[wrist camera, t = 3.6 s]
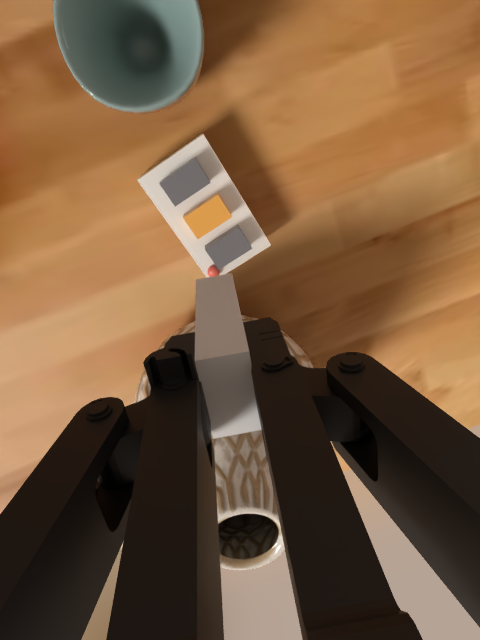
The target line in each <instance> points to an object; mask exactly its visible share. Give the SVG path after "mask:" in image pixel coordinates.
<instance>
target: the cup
mask: <svg viewBox="0 0 480 640" xmlns="http://www.w3.org/2000/svg"><path fill="white" fill-rule="evenodd" d="M53 17H54V27H55V32H56V36H57V40H58V44H59V47H60V49H61V52H62V54H63V57H64V59H65V62H66V64H67V66H68V67H69V69H70V71H71V73H72V74H73V76H74V78H75V79H76V80H77V82H78V83H79V84H80V85H81V87H82V88H83V89H84V90H85V91H86V92H87V93H88V94H89V95H91V96H92V97H93V98H94V99H95V100H96V101H98V102H100V103H102V104H104V105H105V106H107V107H109V108H112V109H115V110H119V111H122V112H126V113H138V114H147V113H156V112H160V111H163V110H166V109H169V108H171V107H173V106H175V105H177V104H179V103H180V102H181V101H182V100H183V99H185V98H186V97H187V96H188V95H189V94H190V92H191V91H192V90H193V88H194V87H195V85H196V83H197V80H198V78H199V76H200V73H201V69H202V64H203V59H204V42H205V35H204V26H203V18H202V14H201V10H200V6H199V2H198V0H53Z"/></svg>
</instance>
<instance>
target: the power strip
mask: <svg viewBox="0 0 480 640" xmlns="http://www.w3.org/2000/svg"><path fill="white" fill-rule="evenodd" d="M137 181H138V182H139V183H140V185H141V186H142V188H143V189H144V190H145V192H146V193H147V195H148V196H149V197H150V199H151V200H152V202H153V203H154V204H155V206H156V207H157V209H158V210H159V211H160V213H161V214H162V216H163V217H164V218H165V220H166V221H167V223H168V224H169V225H170V227H171V228H172V230H173V231H174V232H175V234H176V235H177V237H178V238H179V239H180V241H181V242H182V244H183V245H184V246H185V248H186V249H187V251H188V252H189V253H190V255H191V256H192V258H193V259H194V260H195V262H196V263H197V265H198V266H199V267H200V269H201V270H202V272H203V273H204V275H205V276H206V277H207V278H208V277H214V276H219V275H225V274H226V273H228V272H230V271H231V270H233V269H234V268H236V267H238V266H239V265H241V264H242V263H244V262H246V261H247V260H249V259H250V258H252V257H253V256H255V255H257V254H258V253H260V252H261V251H263V250H265V249H266V248H268V247H269V246H271V244H270V242H269V241H268V239H267V237H266V236H265V234H264V232H263V231H262V229H261V227H260V226H259V224H258V223H257V221H256V219H255V218H254V216H253V214H252V213H251V211H250V209H249V208H248V206H247V205H246V203H245V201H244V200H243V198H242V196H241V195H240V193H239V191H238V190H237V188H236V186H235V185H234V183H233V182H232V180H231V178H230V177H229V175H228V173H227V172H226V170H225V168H224V167H223V165H222V164H221V162H220V160H219V159H218V157H217V155H216V154H215V152H214V150H213V149H212V147H211V145H210V144H209V142H208V141H207V139H206V137H205V136H204V134H203V133H202V134H200V135H199V136H197V137H196V138H194V139H193V140H192V141H190V142H189V143H187V144H186V145H184V146H183V147H182V148H180V149H179V150H177V151H176V152H174V153H173V154H172V155H170V156H169V157H167V158H166V159H164V160H163V161H162V162H160V163H159V164H157V165H156V166H154V167H153V168H152V169H150V170H149V171H147V172H146V173H144V174H143V175H142V176H141V177H140V178H139V179H138V180H137Z"/></svg>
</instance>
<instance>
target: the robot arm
mask: <svg viewBox="0 0 480 640" xmlns="http://www.w3.org/2000/svg"><path fill="white" fill-rule="evenodd" d="M143 363H144V367H145V370H146V373H147V377H148V380H149V383H150V387H151V389H150V395H149V396H148V397H146V398H145V399H143V400H141V401H139V402H136V403H134V404H131V405H129V406H126V407H125V406H124V404H123V401H122V400H120V399H118V398H114V397H107V398H100V399H97V400H94V401H92V402H90V403H89V404H87V405H85V406H84V407H82V408H81V409H80V410H79V411H78V412H77V413H76V415H75V416H74V417H73V419H72V420H71V421H70V423H69V424H68V425H67V427H66V428H65V429H64V431H63V432H62V433H61V435H60V436H59V437H58V439H57V440H56V441H55V443H54V444H53V445H52V447H51V448H50V449H49V451H48V452H47V453H46V455H45V456H44V457H43V459H42V460H41V461H40V463H39V464H38V465H37V467H36V468H35V469H34V470H33V472H32V473H31V474H30V476H29V477H28V478H27V480H26V481H25V482H24V484H23V485H22V486H21V488H20V489H19V490H18V492H17V493H16V494H15V496H14V497H13V498H12V500H11V501H10V502H9V504H8V505H7V506H6V508H5V509H4V510H3V512H2V513H1V514H0V640H81V639H82V636H83V634H84V632H85V629H86V627H87V625H88V622H89V620H90V618H91V615H92V613H93V611H94V608H95V606H96V604H97V601H98V599H99V597H100V594H101V592H102V590H103V587H104V585H105V583H106V580H107V578H108V576H109V573H110V571H111V569H112V566H113V564H114V562H115V559H116V557H117V555H118V552H119V550H120V548H121V545H122V543H123V541H124V543H123V548H122V554H121V560H120V566H119V571H118V577H117V583H116V588H115V594H114V600H113V606H112V611H111V617H110V622H109V628H108V633H107V639H106V640H224V633H223V612H222V592H221V573H220V553H219V533H218V514H217V494H216V474H215V455H214V447H213V443H212V439H211V432H212V437H213V439H214V438H220V437H225V436H231V435H236V434H242V433H247V432H253V431H258V430H262V436H263V441H264V447H265V453H266V459H267V462H268V467H269V472H270V477H271V482H272V487H273V492H274V497H275V502H276V507H277V512H278V517H279V522H280V527H281V532H282V537H283V542H284V547H285V552H286V557H287V562H288V567H289V572H290V578H291V582H292V588H293V593H294V597H295V603H296V607H297V613H298V617H299V623H300V628H301V633H302V638H303V640H423V639H422V637H421V635H420V633H419V631H418V629H417V627H416V625H415V623H414V621H413V620H412V618H411V617H410V616H409V614H408V613H407V612H404V611H401V610H400V608H399V607H398V605H397V603H396V601H395V599H394V597H393V595H392V592H391V590H390V587H389V584H388V582H387V580H386V577H385V575H384V572H383V570H382V567H381V565H380V563H379V560H378V557H377V555H376V552H375V550H374V548H373V545H372V543H371V540H370V538H369V535H368V533H367V531H366V528H365V525H364V523H363V521H362V518H361V516H360V513H359V511H358V508H357V506H356V504H355V501H354V498H353V496H352V494H351V491H350V489H349V486H348V484H347V481H346V479H345V476H344V474H343V471H342V469H341V467H340V464H339V462H338V459H337V457H336V454H335V452H334V449H333V447H332V444H331V442H330V441H332V443H333V445H334V447H335V449H336V451H337V452H338V453H339V454H340V455H341V457H342V458H343V459H344V460H345V462H346V463H347V464H348V465H349V467H350V468H351V469H352V470H353V471H354V473H355V474H356V475H357V476H358V478H359V479H360V480H361V481H362V482H363V484H364V485H365V486H366V488H367V489H368V490H369V491H370V492H371V494H372V495H373V496H374V497H375V499H376V500H377V501H378V502H379V504H380V505H381V506H382V507H383V509H384V510H385V511H386V512H387V513H388V515H389V516H390V517H391V518H392V520H393V521H394V522H395V523H396V524H397V526H398V527H399V528H400V530H401V531H402V532H403V533H404V534H405V536H406V537H407V538H408V539H409V541H410V542H411V543H412V544H413V545H414V547H415V548H416V549H417V550H418V552H419V553H420V554H421V555H422V557H423V558H424V559H425V560H426V561H427V563H428V564H429V565H430V567H431V568H432V569H433V570H434V571H435V573H436V574H437V575H438V576H439V577H440V579H441V580H442V581H443V583H444V584H445V585H446V586H447V588H448V589H449V590H450V591H451V592H452V594H453V595H454V596H455V597H456V599H457V600H458V601H459V602H460V604H461V605H462V606H463V607H464V609H465V610H466V611H467V612H468V613H469V615H470V616H471V617H472V618H473V620H474V621H475V622H476V623H477V624H478V626H479V627H480V438H479V437H477V436H476V435H474V434H473V433H472V432H471V431H469V430H468V429H467V428H465V427H464V426H463V425H461V424H460V423H459V422H457V421H456V420H455V419H453V418H452V417H451V416H449V415H448V414H447V413H445V412H444V411H443V410H441V409H440V408H439V407H437V406H436V405H435V404H433V403H432V402H431V401H429V400H428V399H427V398H425V397H424V396H423V395H422V394H420V393H419V392H418V391H416V390H415V389H414V388H412V387H411V386H410V385H408V384H407V383H406V382H404V381H403V380H402V379H400V378H399V377H398V376H396V375H395V374H394V373H392V372H391V371H390V370H388V369H387V368H386V367H384V366H383V365H382V364H380V363H379V362H378V361H376V360H375V359H374V358H372V357H370V356H368V355H366V354H362V353H358V352H346V353H342V354H338V355H336V356H334V357H332V358H331V359H330V360H329V361H328V362H327V366H326V368H309V367H304V366H301V365H299V363H298V361H297V360H296V358H295V357H294V356H292V355H291V354H290V352H289V349H288V347H287V344H286V342H285V339H284V337H283V334H282V332H281V329H280V327H279V324H278V322H276V321H275V320H273V319H272V318H270V317H269V318H263V319H258V320H252V321H247V322H243V321H242V316H241V312H240V307H239V302H238V298H237V293H236V289H235V284H234V280H233V275H232V273H230V274H225V275H219V276H214V277H208V278H202V279H197V280H196V311H195V332H192V333H186V334H180V335H175V336H171V337H170V339H169V340H168V341H167V342H166V343H165V346H164V348H162V349H159V350H157V351H155V352H153V353H151V354H150V355H149V356H148V357H146V359H145V361H144V362H143Z"/></svg>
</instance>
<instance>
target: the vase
mask: <svg viewBox="0 0 480 640" xmlns="http://www.w3.org/2000/svg"><path fill="white" fill-rule="evenodd" d="M241 316H242V321H243V322H247V321H252V320H258V318H254V317H250V316H245V315H241ZM192 332H195V321H194V322H192V323H189V324H187V325H186V326H184V327H182V328H180V329H179V330H177V331H176V332H175V333H173V334H172V335H171V336H175V335H180V334H186V333H192ZM281 332H282V334H283V337H284V339H285V342H286V344H287V347H288V349H289V352H290V354H291V355H292V356H294V357H295V358H296V360H297V361H298V363H299V365H301V366H304V367H309V368H314V366H313V364H312V362H311V360H310V359H309V358H308V356H307V355H306V353H305V352H304V351H303V349H302V348H301V347H300V346H299V345H298V344H297V343H296V342H295V341H294V340H293V339H292V338H291V337H290V336H289V335H288V334H286V333H285V332H284V331H282V330H281ZM171 336H170V337H171ZM170 337H168V338H167V339H166V340H165V341H164V342H163V343H162V344H161V345H160V346H159V347H158V349H157V350H159V349H162V348H164V346H165V343H166V342H167V341H168V340H169V339H170ZM157 350H156V351H157ZM150 389H151V387H150V383H149V380H148V377H147V373H146V370H145V369H144V371H143V374H142V376H141V378H140V381H139V384H138V387H137V391H136V395H135V402H134V403H136V402H139V401H141V400H143V399H145V398H146V397H148V396H149V395H150ZM211 439H212V443H213V447H214V455H215V474H216V494H217V514H218V533H219V553H220V567H223V568H226V569H231V570H248V569H254V568H258V567H261V566H264V565H266V564H268V563H270V562H271V561H273V560H275V559H276V558H277V557H278V556H280V555H281V554H282V553H283V552H284V550H285V547H284V542H283V537H282V532H281V527H280V522H279V517H278V512H277V507H276V502H275V497H274V492H273V487H272V482H271V477H270V472H269V467H268V462H267V459H266V453H265V447H264V441H263V436H262V430H258V431H253V432H247V433H242V434H236V435H231V436H225V437H220V438H214V439H213V437H212V432H211Z"/></svg>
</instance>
